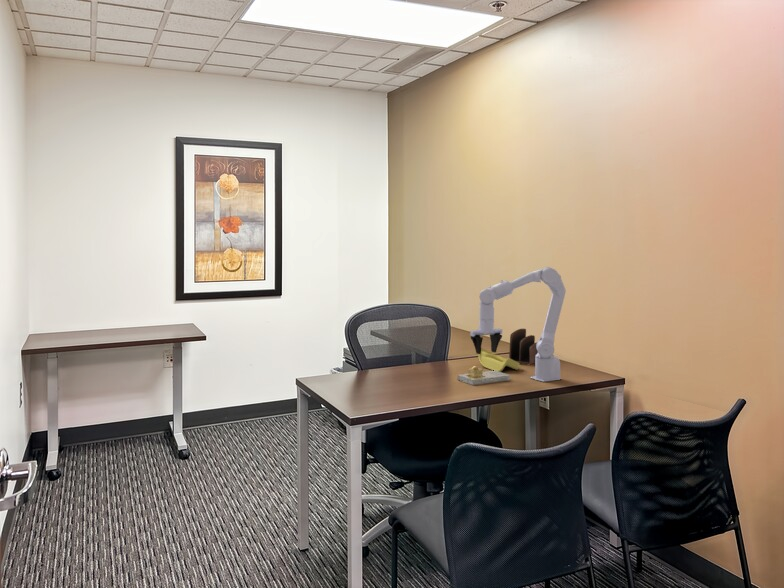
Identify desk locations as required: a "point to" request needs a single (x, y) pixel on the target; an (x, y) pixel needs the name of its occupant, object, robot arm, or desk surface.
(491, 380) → the grey stone slab
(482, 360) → the yellow curved piece
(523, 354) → the letter holder
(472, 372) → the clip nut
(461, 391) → the desk surface
